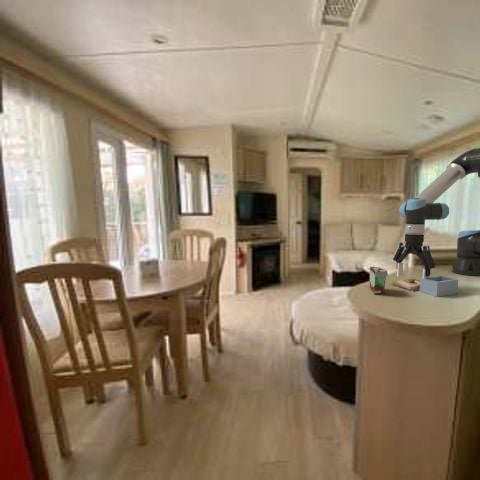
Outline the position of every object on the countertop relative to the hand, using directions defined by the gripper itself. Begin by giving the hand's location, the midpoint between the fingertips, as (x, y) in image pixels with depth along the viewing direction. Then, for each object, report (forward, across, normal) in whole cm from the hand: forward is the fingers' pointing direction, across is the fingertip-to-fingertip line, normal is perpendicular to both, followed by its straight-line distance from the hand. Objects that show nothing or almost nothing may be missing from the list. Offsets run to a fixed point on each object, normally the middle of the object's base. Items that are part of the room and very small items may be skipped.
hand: (411, 279), depth 145 cm
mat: (+3, 0, 0) cm, 3 cm away
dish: (+3, +12, +2) cm, 12 cm away
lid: (+3, 0, 0) cm, 3 cm away
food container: (+3, +1, -20) cm, 20 cm away
